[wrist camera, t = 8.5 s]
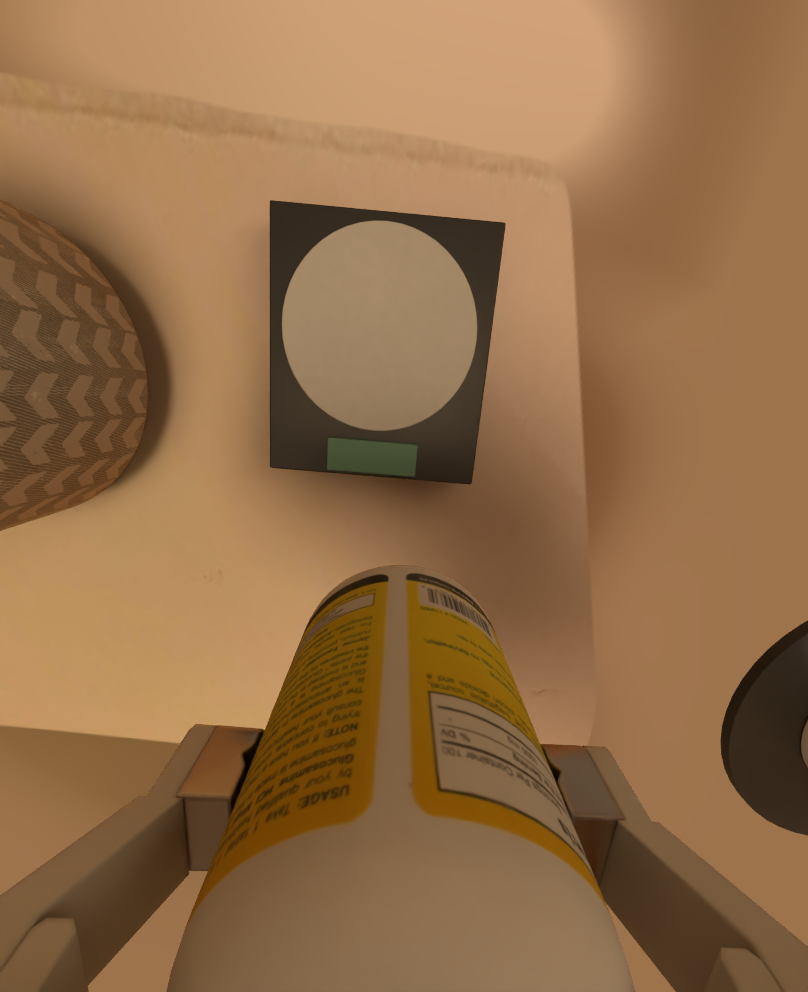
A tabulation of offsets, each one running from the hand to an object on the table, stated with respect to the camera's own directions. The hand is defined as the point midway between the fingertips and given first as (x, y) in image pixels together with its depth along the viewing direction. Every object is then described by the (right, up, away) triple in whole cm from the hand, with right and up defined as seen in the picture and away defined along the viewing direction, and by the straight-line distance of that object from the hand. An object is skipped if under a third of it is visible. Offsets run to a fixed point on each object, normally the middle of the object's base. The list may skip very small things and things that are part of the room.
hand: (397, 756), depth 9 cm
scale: (-1, +16, +18) cm, 24 cm away
